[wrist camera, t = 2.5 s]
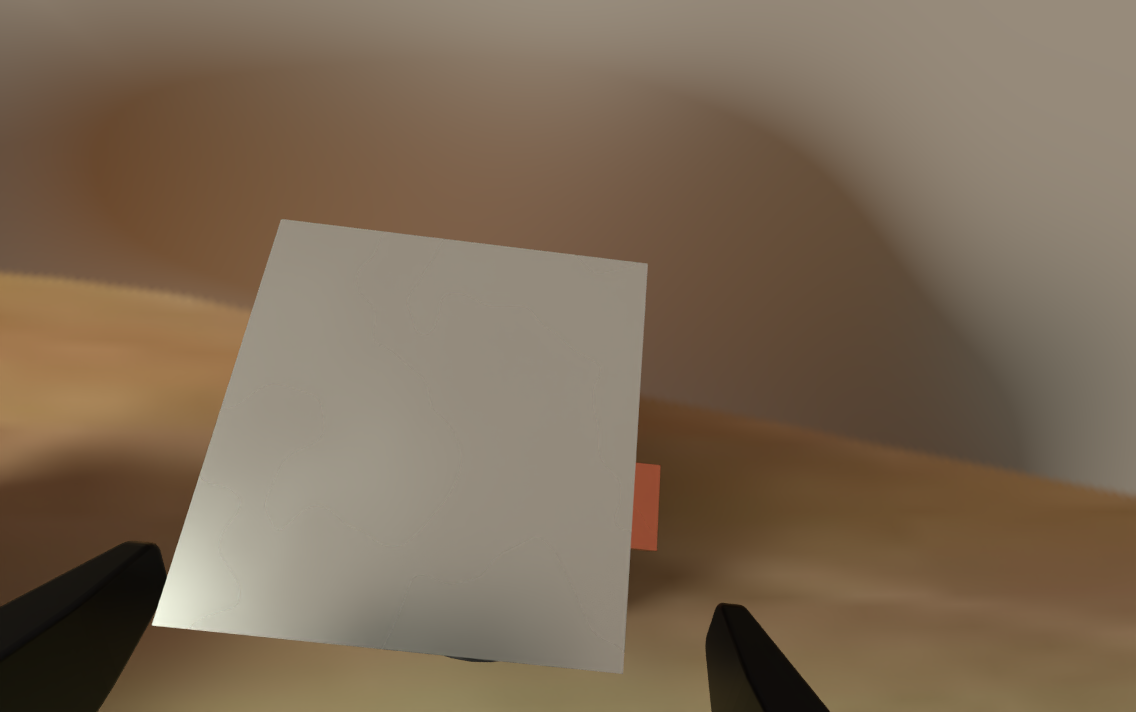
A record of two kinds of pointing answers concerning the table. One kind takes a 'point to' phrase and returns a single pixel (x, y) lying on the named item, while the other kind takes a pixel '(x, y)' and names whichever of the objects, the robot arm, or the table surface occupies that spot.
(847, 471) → the table surface
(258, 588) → the column
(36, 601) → the robot arm
